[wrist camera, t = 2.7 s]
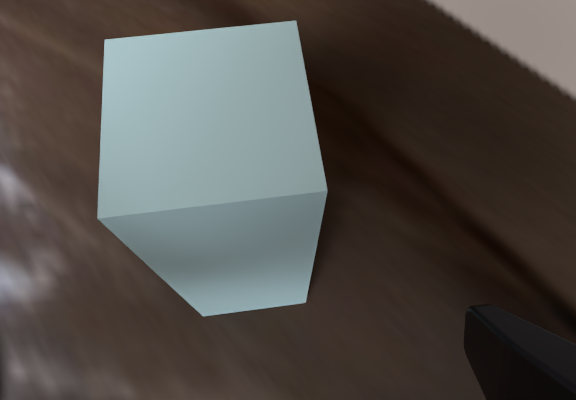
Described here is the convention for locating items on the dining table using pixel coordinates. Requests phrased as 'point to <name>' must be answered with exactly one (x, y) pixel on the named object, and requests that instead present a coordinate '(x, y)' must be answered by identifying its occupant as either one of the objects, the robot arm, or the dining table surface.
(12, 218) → the dining table surface
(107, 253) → the dining table surface
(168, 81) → the teal post
